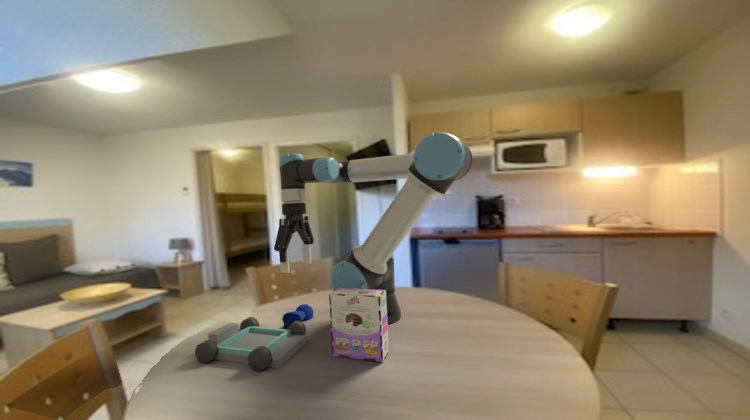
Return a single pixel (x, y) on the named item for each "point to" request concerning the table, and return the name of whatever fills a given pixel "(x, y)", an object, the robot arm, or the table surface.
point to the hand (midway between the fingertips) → (296, 267)
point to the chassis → (252, 344)
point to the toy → (298, 315)
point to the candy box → (359, 323)
